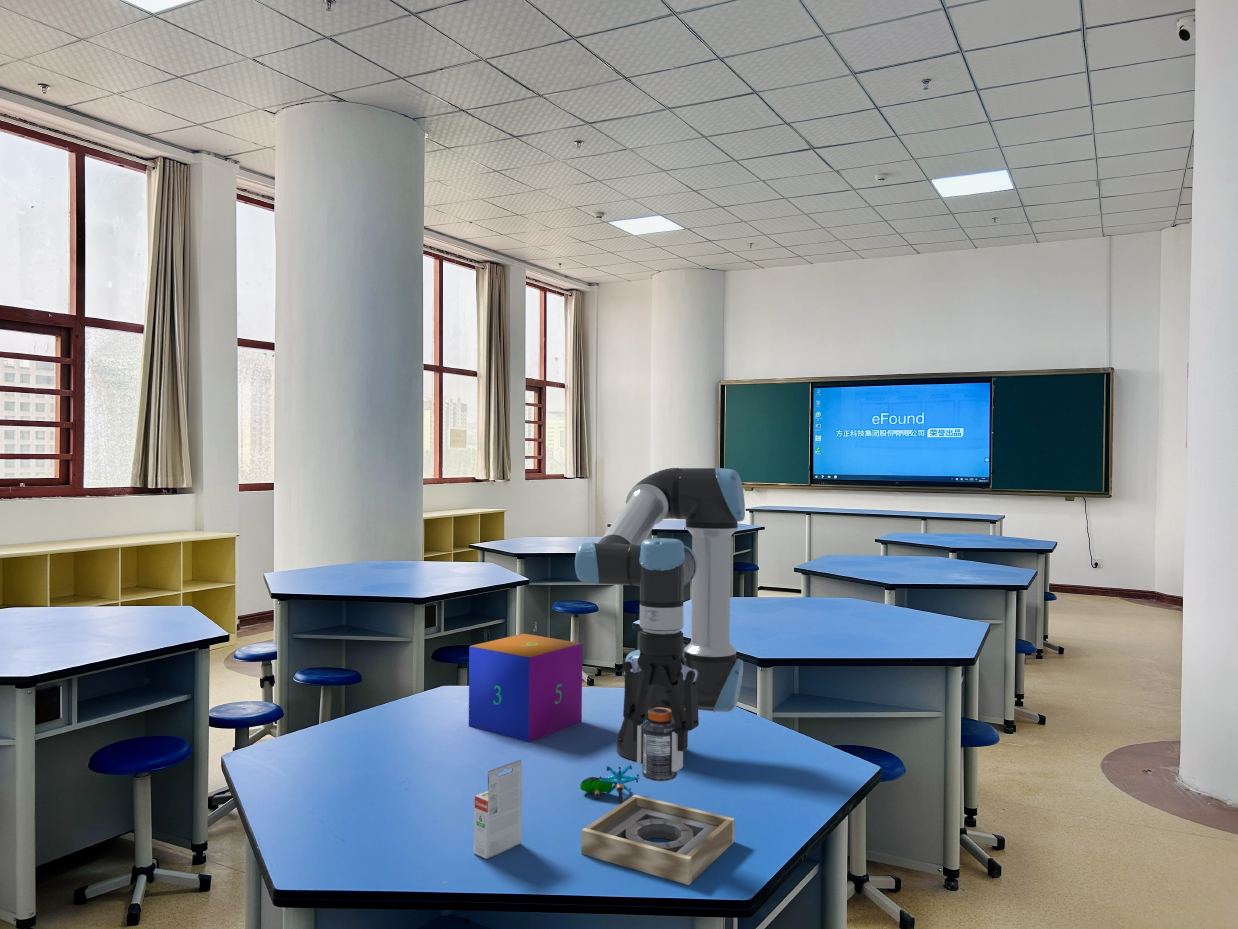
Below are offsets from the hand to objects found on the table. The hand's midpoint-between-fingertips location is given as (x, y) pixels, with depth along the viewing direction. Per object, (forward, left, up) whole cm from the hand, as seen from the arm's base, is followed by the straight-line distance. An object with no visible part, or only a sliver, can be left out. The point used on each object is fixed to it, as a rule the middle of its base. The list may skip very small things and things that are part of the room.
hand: (659, 765), depth 145 cm
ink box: (-23, -15, -14) cm, 31 cm away
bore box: (0, 0, -14) cm, 14 cm away
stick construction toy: (-19, +14, -15) cm, 28 cm away
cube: (-61, +43, -14) cm, 76 cm away
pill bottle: (0, 0, -2) cm, 2 cm away
